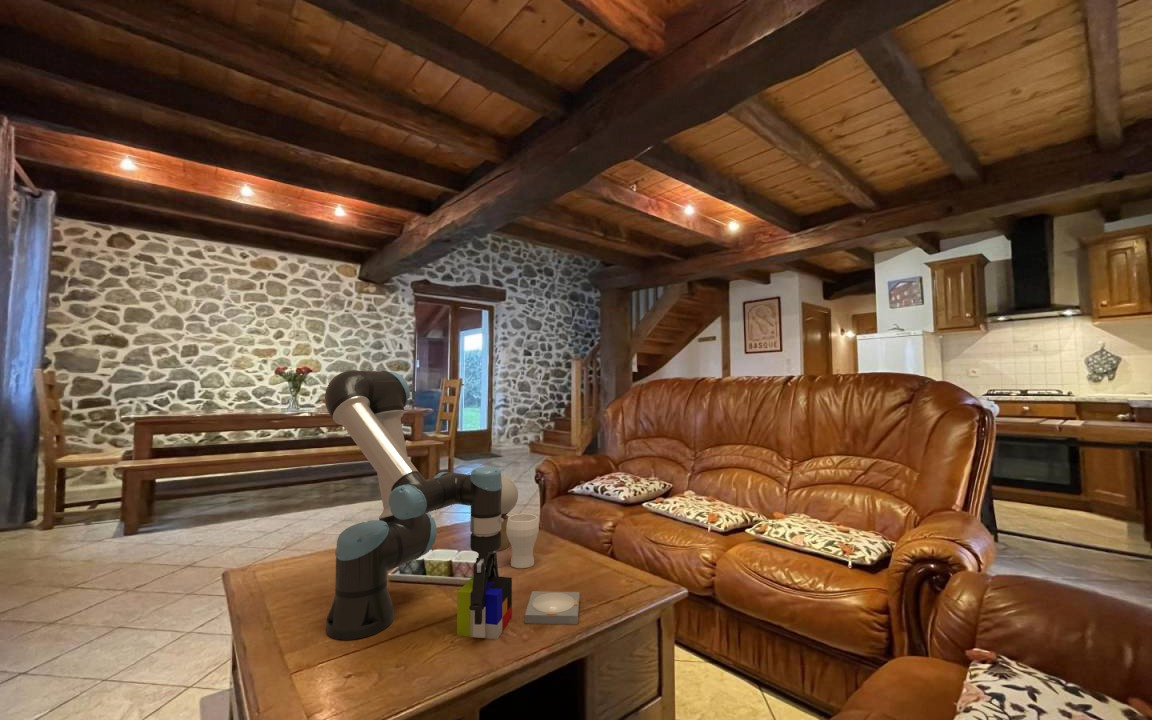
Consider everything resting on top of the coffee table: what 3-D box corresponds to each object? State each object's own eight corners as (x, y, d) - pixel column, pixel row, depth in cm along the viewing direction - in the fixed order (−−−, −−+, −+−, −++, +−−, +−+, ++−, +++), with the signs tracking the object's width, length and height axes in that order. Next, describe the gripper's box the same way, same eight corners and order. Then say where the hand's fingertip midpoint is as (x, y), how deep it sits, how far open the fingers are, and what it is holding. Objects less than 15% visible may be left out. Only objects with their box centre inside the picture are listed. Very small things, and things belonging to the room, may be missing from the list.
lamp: (504, 536, 178) (505, 471, 179) (525, 545, 167) (525, 476, 168) (469, 545, 168) (470, 476, 169) (488, 556, 157) (489, 482, 159)
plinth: (524, 623, 112) (525, 614, 113) (532, 598, 125) (532, 590, 126) (577, 624, 112) (577, 614, 112) (579, 599, 125) (579, 591, 125)
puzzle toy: (497, 639, 105) (497, 595, 106) (456, 635, 107) (457, 591, 108) (511, 618, 115) (511, 577, 116) (474, 614, 117) (475, 574, 118)
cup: (503, 560, 154) (504, 514, 154) (534, 556, 157) (534, 511, 158) (508, 572, 143) (509, 523, 144) (541, 568, 147) (541, 520, 148)
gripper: (490, 549, 101) (489, 651, 99) (509, 518, 124) (509, 600, 123) (456, 548, 101) (455, 650, 100) (482, 517, 125) (482, 600, 123)
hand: (485, 623), depth 111 cm, fingers open, 11 cm apart
